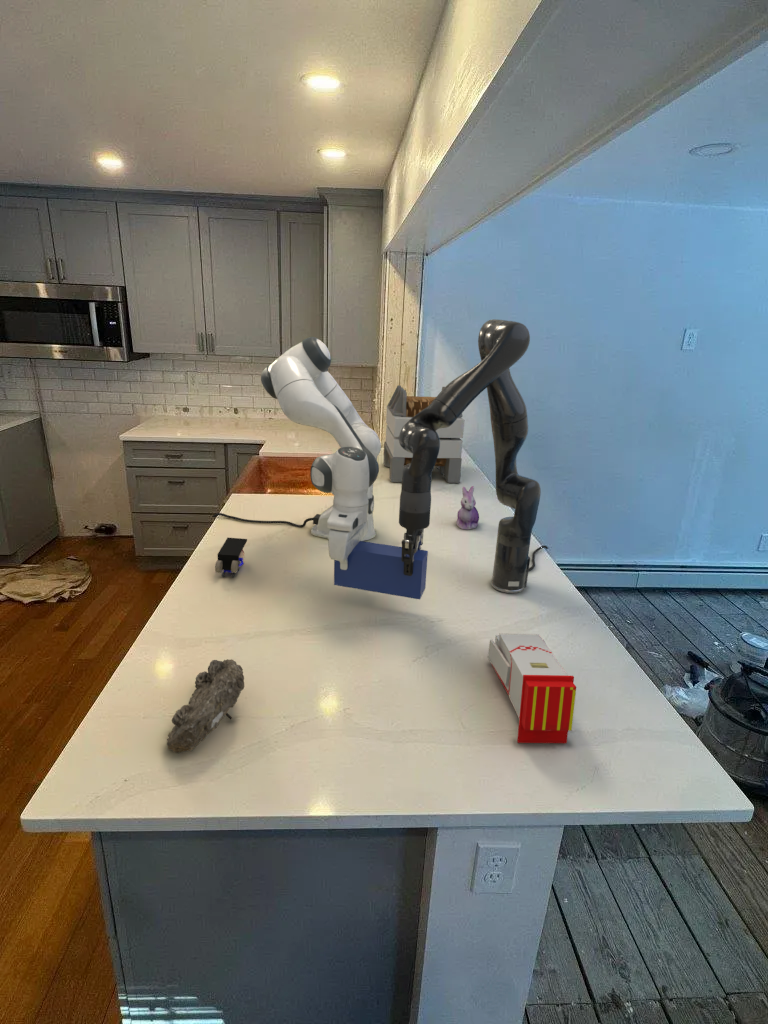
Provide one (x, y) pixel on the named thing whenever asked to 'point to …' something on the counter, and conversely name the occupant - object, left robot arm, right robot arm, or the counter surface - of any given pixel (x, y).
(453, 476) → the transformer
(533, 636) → the toy
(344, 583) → the box
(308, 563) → the counter surface
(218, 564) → the figurine character
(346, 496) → the left robot arm
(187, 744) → the fossil
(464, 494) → the figurine
